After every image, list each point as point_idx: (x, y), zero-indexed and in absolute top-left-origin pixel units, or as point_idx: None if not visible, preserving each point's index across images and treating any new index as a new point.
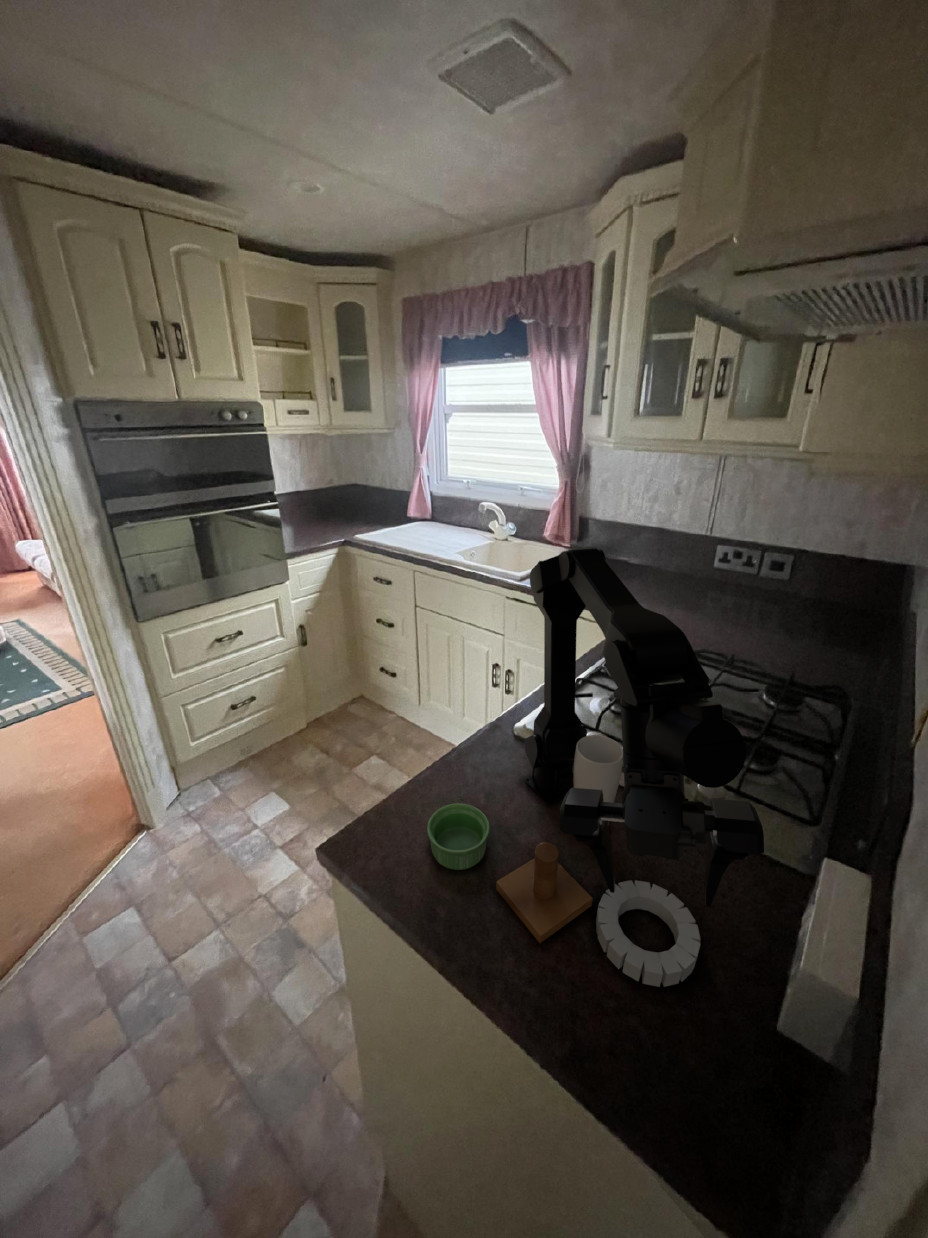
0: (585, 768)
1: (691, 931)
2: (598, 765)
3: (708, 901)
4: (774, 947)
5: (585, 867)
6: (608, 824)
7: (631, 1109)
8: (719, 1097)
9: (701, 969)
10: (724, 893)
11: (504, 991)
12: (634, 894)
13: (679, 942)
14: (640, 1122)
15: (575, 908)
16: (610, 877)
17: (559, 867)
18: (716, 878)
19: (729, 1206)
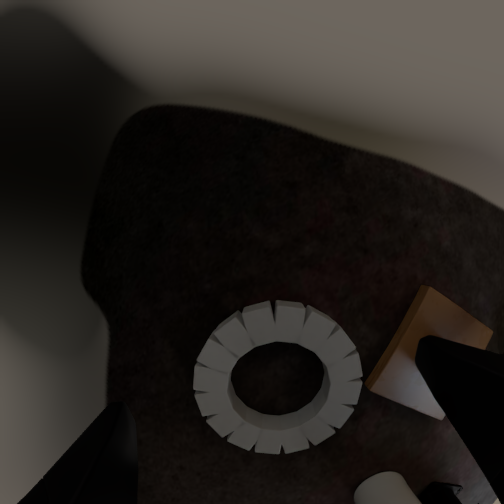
0: None
1: (209, 403)
2: None
3: (111, 413)
4: None
5: (379, 433)
6: (356, 502)
7: (255, 137)
8: (157, 201)
9: (191, 359)
10: (180, 471)
11: (436, 197)
12: (307, 426)
13: (224, 378)
14: (242, 131)
15: (392, 359)
16: (467, 355)
17: (422, 408)
18: (49, 487)
19: (150, 114)
